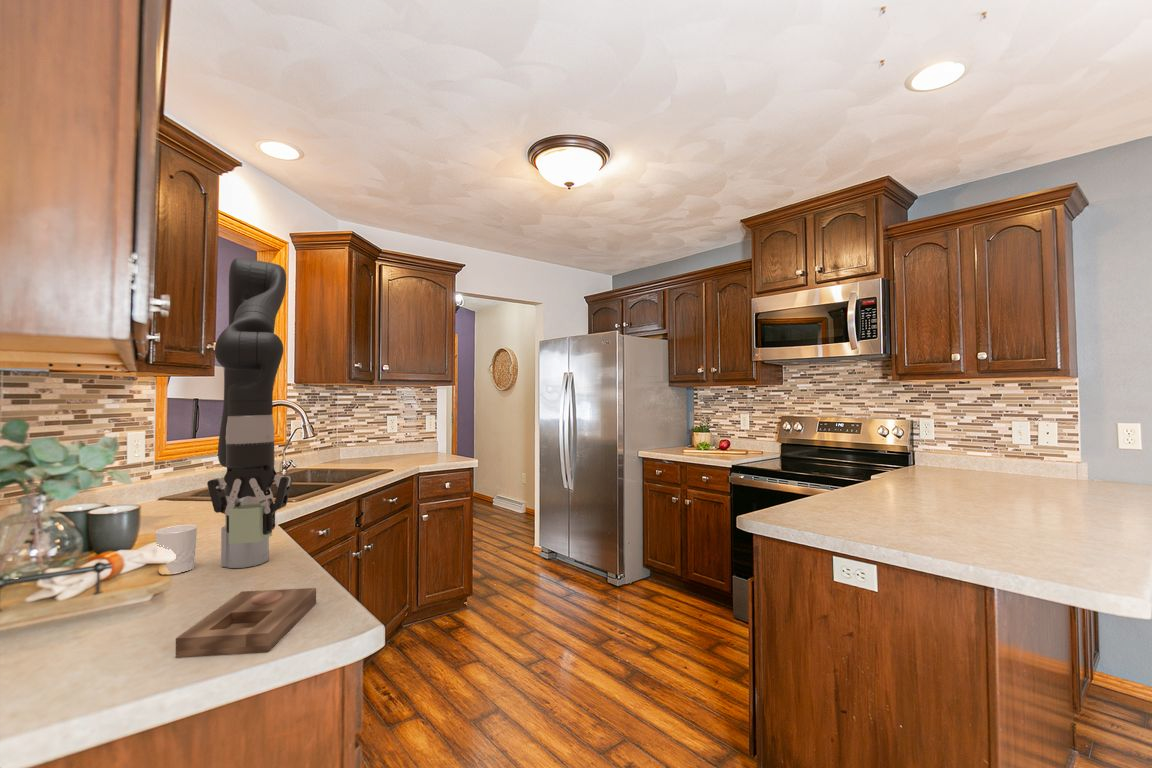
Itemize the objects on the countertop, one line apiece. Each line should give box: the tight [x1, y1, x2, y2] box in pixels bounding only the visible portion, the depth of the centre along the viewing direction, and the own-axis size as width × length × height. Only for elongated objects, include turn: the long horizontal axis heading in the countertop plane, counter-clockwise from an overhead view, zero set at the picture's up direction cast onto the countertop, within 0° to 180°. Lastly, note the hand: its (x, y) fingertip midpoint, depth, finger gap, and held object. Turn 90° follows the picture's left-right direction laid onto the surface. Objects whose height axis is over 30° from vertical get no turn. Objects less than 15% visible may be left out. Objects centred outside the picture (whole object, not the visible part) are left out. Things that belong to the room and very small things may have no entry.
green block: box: [229, 504, 273, 544], centre depth 96 cm, size 5×5×6 cm
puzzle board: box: [175, 587, 317, 658], centre depth 94 cm, size 14×20×4 cm
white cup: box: [155, 524, 198, 573], centre depth 126 cm, size 8×8×10 cm
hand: (251, 534), depth 95 cm, fingers closed on green block, 5 cm apart
